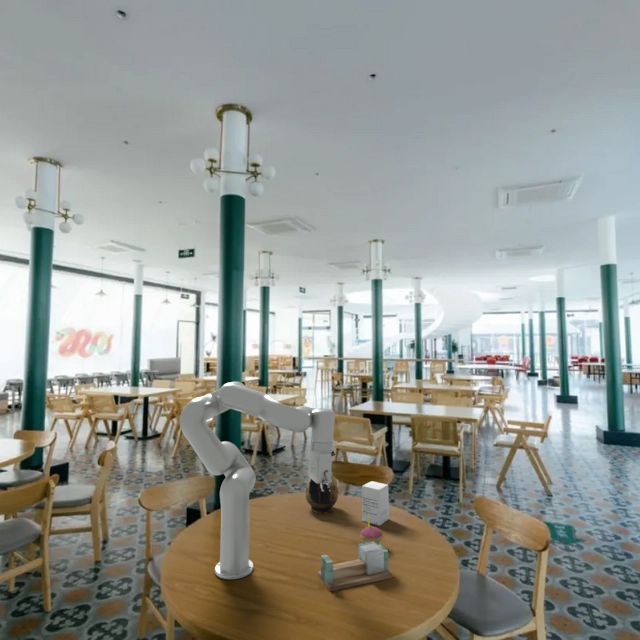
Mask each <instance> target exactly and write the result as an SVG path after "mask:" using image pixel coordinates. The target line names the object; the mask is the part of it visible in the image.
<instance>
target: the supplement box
mask: <svg viewBox="0 0 640 640" xmlns="http://www.w3.org/2000/svg"><path fill="white" fill-rule="evenodd" d="M389 499H390V497H389V484H388V483H387V484H386V483H382V482H377V481H372V480H371V481H369V482H367V483H365V484H363V485H362V486H361V516H362V517H361V521H362V522H366V523H368V520H367V513H368V515H369V523H370V524H373V525H377V526H378V527H379V526H382V525H383V524H384V523H385V522H387V521H388V520H389V519H390V507H389V506H390V505H389V503H390V502H389Z"/></svg>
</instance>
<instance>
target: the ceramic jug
mask: <svg viewBox="0 0 640 640" xmlns="http://www.w3.org/2000/svg"><path fill="white" fill-rule="evenodd" d="M309 451H310V452H311V449H310V450H309ZM334 456H336V453H335V451H334V450H333V451H332V452H331V458H332V457H334ZM331 479H332V484H331V488H330V496H329V503H327V504H320V503H319V501H320V491H321V486H320V483H319V484H318V493H313V494H310V493H309V483H310V480H309V479H308V481H307V483H306V485H305V500H306V502H307V503H308V504H309V506H310V510H311V511H312V512H313V513H315V514H316V513H317V514H320V515H323V514H329V513H331V512H332V508H333V507H334V506H335V504H336V503H337V502H338V499H339V487H338V483H337V480H336V477H335V475H334V473H333V472H332V471H331ZM323 481H324V480H323ZM323 486H325V484H323Z"/></svg>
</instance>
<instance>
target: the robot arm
mask: <svg viewBox="0 0 640 640" xmlns="http://www.w3.org/2000/svg"><path fill="white" fill-rule="evenodd" d="M229 410H234V411H237V412H241V413H243V414H245V415H250V416H253V417H256V418H258V419H260V420H261V421H264V422H267V423H268V424H270V425H273V426H275V427H278V428H281V429H284V430H286V431H289V432H293V433H304V432H305V431H307V430H308V429H309V428H311V436H310V437H311V438H310V450H311V452H310V453H309V458H308V459H309V460H308V466H307V468H308V469H307V476H308V477H309V478H308V480H310V483H309V493H310V494H313V493H318V484H319V483H320V486H321V491H320V501H319V503H320V504H327V503H329V496H330V488H331V484H332V479H331V472H332V457H331V452H332V451H334V433H335V431H334V430H335V419H336V417H335V411H334V410H333V409H331V408H330V409H329V408H314V407H310V406H305V405H301V406H299V405H298V406H297V407H294V406H293V407H292V406H289V405H286V404H284V403H281V402H279V401H277V400H275V399H274V398H273V397H271V395H269V394H267V392H266V393H265V392H262V391H260V390H256V389H253V388H249V387H247V386H246V385H245V384H244V383H242V382H241V381H231V382H227V383H224V384H223V385H222V386H220V388H219V389H217V390H215V391H212V392H210V393H208V394H205V395H203V396H197V397H195V398H193V399H191V400H189V401H188V402H187V403H186V404H185V406H184V407H183V408H182V410H181V413H180V416H179V417H180V418H179V425H180V426H179V427H180V430H181V432H182V434H183V436H184V437H185V439H186V440H187V441H188V443H189V445H190V446H191V447H192V449H193V450H194V452H195V454H196V455H197V456H198V458H199V459H200V461H201V463H202V464H203V465H204V467H205V469H207V471H208V472H209V473H210V474H211V475H213V476H221V475H224V476H225V478H224V479H223V481H222V482H221V486H220V490H219V503H220V545H219V546H220V548H219V549H220V550H219V553H220V555H219V562H218V563H216V565H215V567H214V573H215V575H216V576H217V577H218V578H220V579H224V580H237V579H242V578H244V577H247V576H248V575H250V574H251V573H252V572H253V570H254V563H253V561H252V560H250V528H251V527H250V521H251V519H250V510H251V509H250V493H251V491H252V490H253V488H254V487H255V484H256V479H257V478H256V473H255V471H254V469H253V468H252V466H251V465H250V463H249V462H248V460H247V459H246V458H245V456H244V455H243V453H242V452H241V451H240V449H239V448H238V447H237V445H235V444H234V443H233V442H230V441H227V440H226V441H225V440H224V441H221V440H220V438H219V437H218V436H217V434H216V433H215V431H214V430H213V429H212V428H211V427H210V426H209V425H208V424H207V421H208V420H210V419H212V418H214V417H216V416H218V415H221V414H223V413H225V412H227V411H229ZM323 480H324V481H323ZM323 484H325V486H323Z"/></svg>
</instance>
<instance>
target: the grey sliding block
mask: <svg viewBox="0 0 640 640" xmlns="http://www.w3.org/2000/svg"><path fill="white" fill-rule="evenodd" d="M359 559H362V560H363V561H364V562H365V573H366V574H367V575H370V574H375V573H379V572H384V550H383V549H382V548H381V547H379V546H378V545H377V544H376V543H375V542H374V541H373V542H367V543H364V542H363V543H357V560H359Z"/></svg>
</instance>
